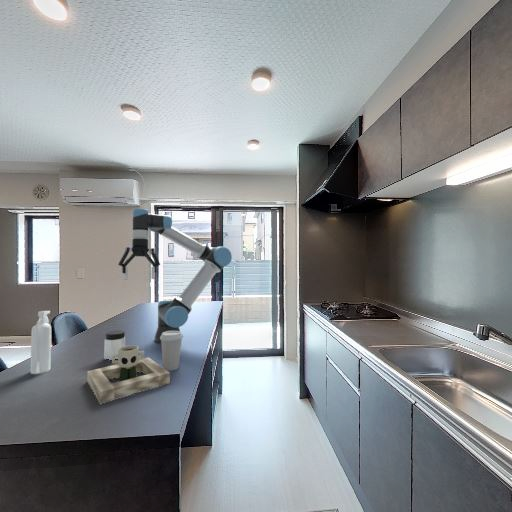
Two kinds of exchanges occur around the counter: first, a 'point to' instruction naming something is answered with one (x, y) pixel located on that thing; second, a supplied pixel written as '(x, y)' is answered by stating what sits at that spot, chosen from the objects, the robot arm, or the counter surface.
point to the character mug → (128, 361)
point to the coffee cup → (171, 349)
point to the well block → (109, 391)
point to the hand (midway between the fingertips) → (139, 279)
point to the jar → (113, 343)
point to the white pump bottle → (41, 344)
